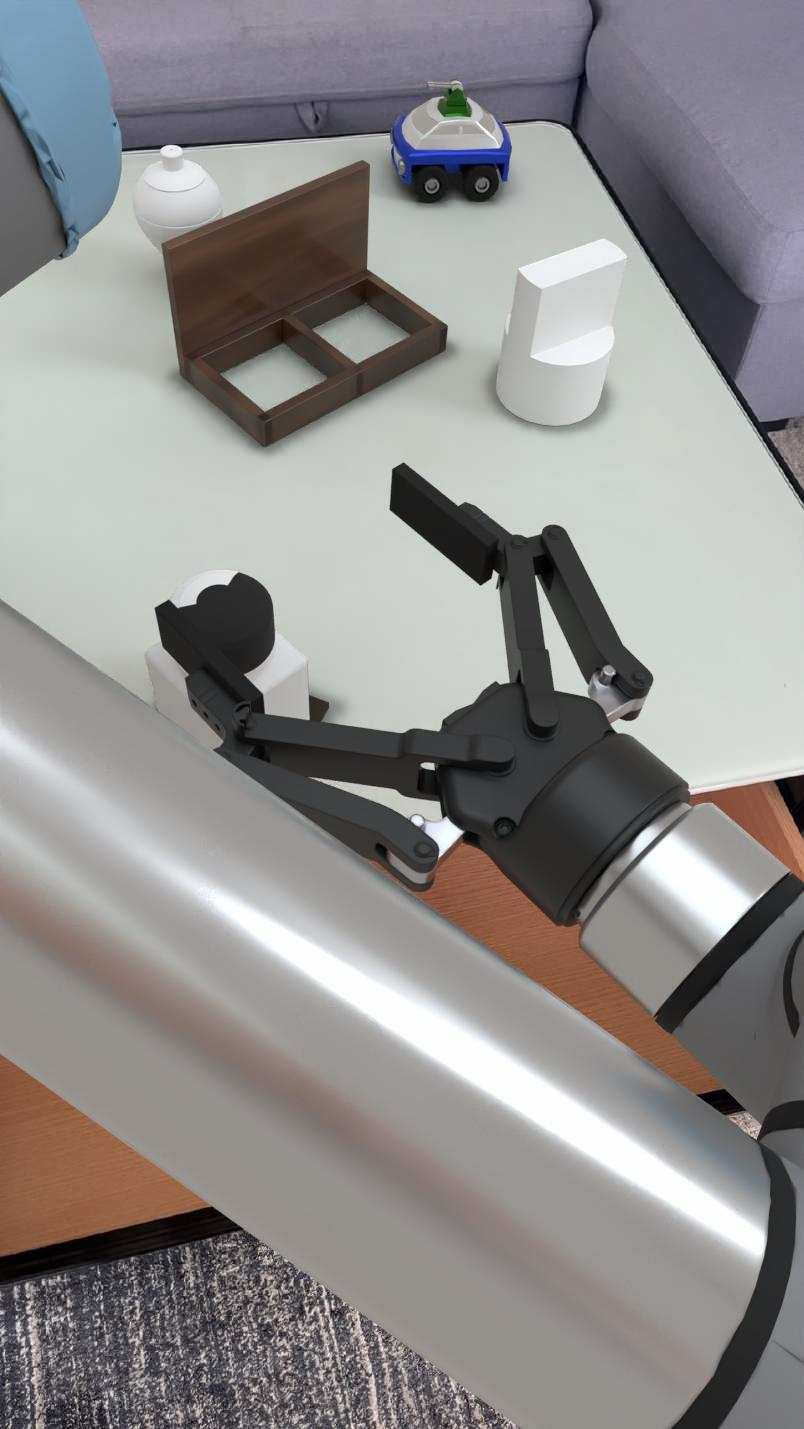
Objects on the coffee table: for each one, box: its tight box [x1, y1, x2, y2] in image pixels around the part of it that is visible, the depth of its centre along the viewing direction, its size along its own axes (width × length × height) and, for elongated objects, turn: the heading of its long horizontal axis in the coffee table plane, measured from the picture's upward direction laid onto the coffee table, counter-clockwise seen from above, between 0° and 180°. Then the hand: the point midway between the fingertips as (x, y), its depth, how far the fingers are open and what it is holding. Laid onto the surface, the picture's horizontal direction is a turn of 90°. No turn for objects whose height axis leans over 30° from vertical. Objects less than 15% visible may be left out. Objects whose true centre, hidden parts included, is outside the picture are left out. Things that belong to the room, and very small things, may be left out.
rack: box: [161, 159, 449, 448], centre depth 87 cm, size 12×20×12 cm, turn 132°
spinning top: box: [132, 144, 224, 256], centre depth 93 cm, size 8×8×12 cm
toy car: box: [389, 78, 513, 203], centre depth 106 cm, size 9×12×10 cm
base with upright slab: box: [495, 237, 628, 427], centre depth 86 cm, size 9×9×12 cm
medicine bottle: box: [144, 569, 310, 750], centre depth 65 cm, size 7×7×12 cm
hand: (286, 550), depth 49 cm, fingers open, 13 cm apart
